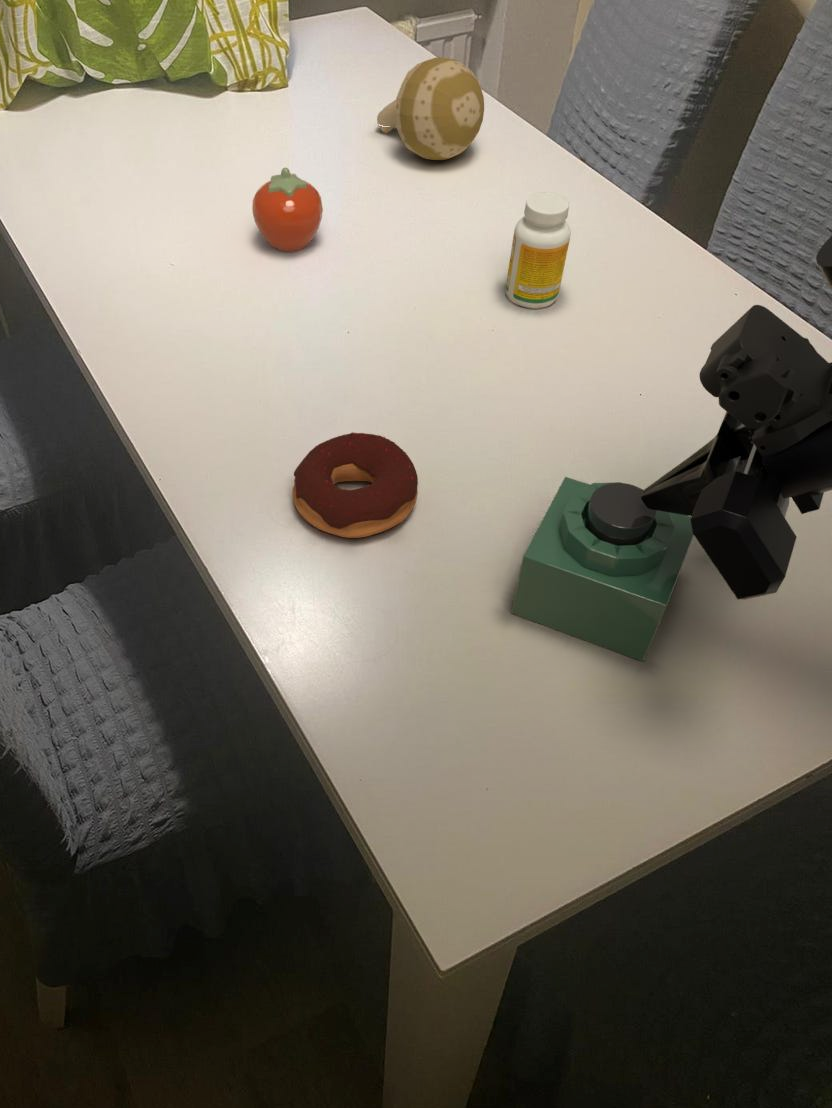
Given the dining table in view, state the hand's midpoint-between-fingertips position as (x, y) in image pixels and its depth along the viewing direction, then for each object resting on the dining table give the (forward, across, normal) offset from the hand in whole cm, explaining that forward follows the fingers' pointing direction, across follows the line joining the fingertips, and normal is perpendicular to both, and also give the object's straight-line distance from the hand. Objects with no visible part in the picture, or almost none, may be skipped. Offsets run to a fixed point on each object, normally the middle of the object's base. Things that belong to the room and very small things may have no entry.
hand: (645, 499), depth 61 cm
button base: (+8, 0, +6) cm, 10 cm away
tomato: (+40, -33, -25) cm, 58 cm away
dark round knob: (+3, 0, +1) cm, 3 cm away
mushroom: (+37, -60, -22) cm, 74 cm away
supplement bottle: (+21, -36, -6) cm, 42 cm away
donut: (+23, -1, -8) cm, 24 cm away
